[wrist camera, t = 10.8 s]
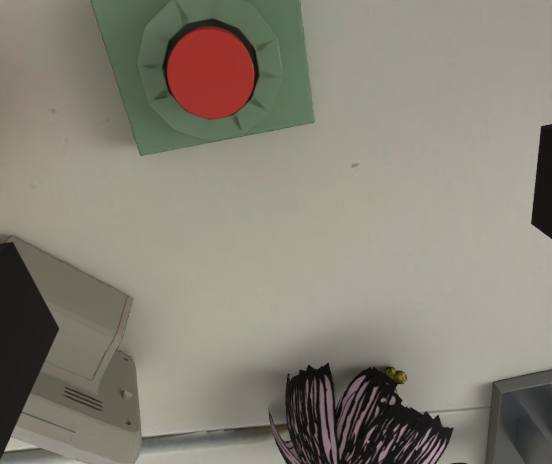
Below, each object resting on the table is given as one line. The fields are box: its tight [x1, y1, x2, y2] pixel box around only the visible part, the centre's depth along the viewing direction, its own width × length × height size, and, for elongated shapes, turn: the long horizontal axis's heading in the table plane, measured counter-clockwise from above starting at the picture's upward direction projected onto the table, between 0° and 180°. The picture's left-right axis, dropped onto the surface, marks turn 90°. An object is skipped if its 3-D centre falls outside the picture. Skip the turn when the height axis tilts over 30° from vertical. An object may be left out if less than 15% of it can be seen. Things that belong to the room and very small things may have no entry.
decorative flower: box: [268, 363, 467, 464], centre depth 35 cm, size 15×12×15 cm
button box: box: [91, 0, 314, 156], centre depth 24 cm, size 10×8×4 cm
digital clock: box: [6, 236, 141, 464], centre depth 27 cm, size 16×9×11 cm, turn 39°
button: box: [167, 26, 254, 119], centre depth 22 cm, size 4×4×2 cm
